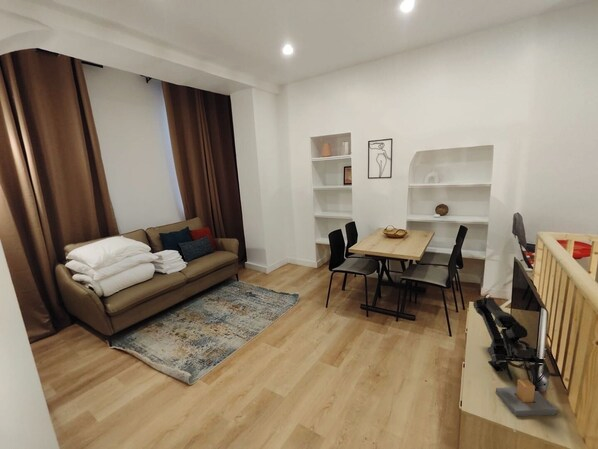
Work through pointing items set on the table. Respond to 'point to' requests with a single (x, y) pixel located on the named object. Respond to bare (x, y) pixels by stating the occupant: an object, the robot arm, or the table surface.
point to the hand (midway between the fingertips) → (524, 381)
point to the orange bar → (525, 391)
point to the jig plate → (525, 409)
